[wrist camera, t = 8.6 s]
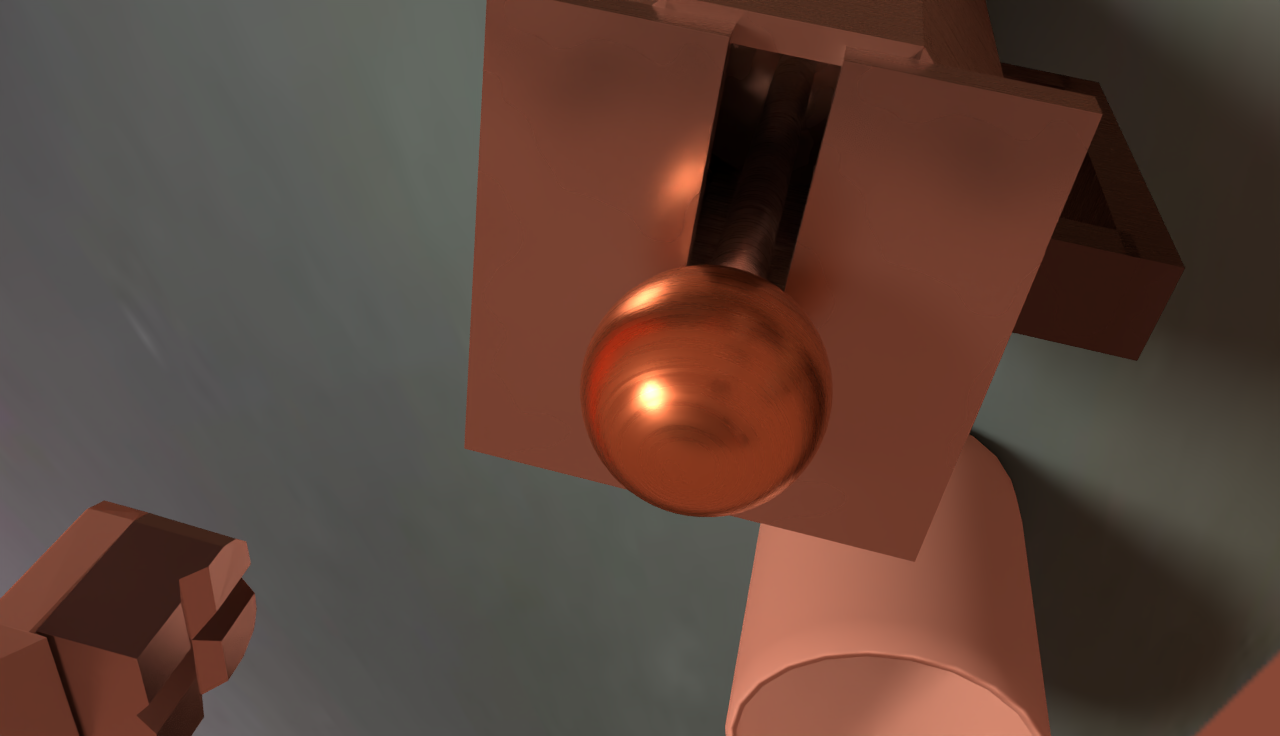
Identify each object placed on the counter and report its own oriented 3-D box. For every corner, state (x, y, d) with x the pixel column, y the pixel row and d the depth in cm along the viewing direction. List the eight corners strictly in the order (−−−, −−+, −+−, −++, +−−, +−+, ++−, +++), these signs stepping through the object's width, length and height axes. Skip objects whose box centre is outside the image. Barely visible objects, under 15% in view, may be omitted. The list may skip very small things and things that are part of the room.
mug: (1068, 458, 37) (1122, 727, 28) (919, 655, 44) (923, 924, 35) (822, 365, 37) (793, 602, 28) (713, 577, 44) (660, 824, 35)
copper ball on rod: (697, -103, 26) (440, 173, 12) (966, -51, 25) (1042, 309, 11) (657, 147, 30) (428, 582, 16) (889, 198, 29) (873, 700, 15)
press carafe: (687, -177, 28) (474, -31, 14) (1128, -94, 27) (1359, 151, 13) (642, 129, 34) (454, 453, 20) (1010, 209, 32) (1088, 614, 19)
